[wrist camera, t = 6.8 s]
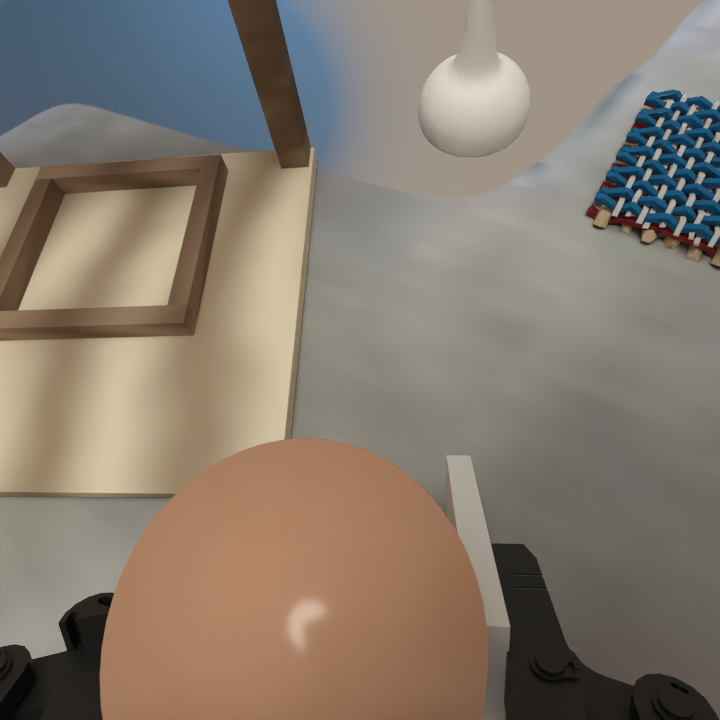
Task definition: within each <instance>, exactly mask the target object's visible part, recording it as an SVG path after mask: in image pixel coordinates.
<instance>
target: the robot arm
mask: <svg viewBox="0 0 720 720" xmlns="http://www.w3.org/2000/svg"><path fill="white" fill-rule="evenodd" d="M446 516H447V518H448V519H449V521H450V522H451V523H452V525H453V526H454V528H455V530H456V532H457V534H458V536H459V537H460V539H461V541H462V543H463V545H464V547H465V549H466V551H467V553H468V556H469V558H470V561H471V564H472V566H473V569H474V571H475V574H476V577H477V581H478V584H479V588H480V592H481V596H482V600H483V604H484V611H485V618H486V626H487V633H488V674H487V685H486V695H485V701H484V706H483V710H482V715H481V719H480V720H505V711H506V720H719V718H718V716H717V714H716V713H715V711H714V710H713V708H712V707H711V706H710V704H709V703H708V702H707V700H706V699H705V698H704V697H703V696H702V695H701V694H699V693H698V692H697V691H696V690H695V689H694V688H692V687H691V686H690V685H688V684H686V683H684V682H682V681H680V680H678V679H676V678H674V677H670V676H666V675H662V674H647V675H644V676H643V677H641V678H640V679H638V680H636V683H635V685H634V686H632V685H629V684H626V683H623V682H620V681H617V680H614V679H611V678H608V677H605V676H603V675H601V674H598V673H596V672H594V671H593V670H591V669H590V668H588V667H586V666H585V665H584V664H583V663H581V661H580V660H579V659H578V657H577V656H576V654H575V653H574V652H572V651H571V650H570V649H569V647H568V645H567V643H566V641H565V639H564V636H563V633H562V630H561V627H560V624H559V622H558V619H557V616H556V613H555V610H554V607H553V604H552V602H551V599H550V596H549V593H548V591H547V587H546V585H545V582H544V579H543V577H542V573H541V570H540V567H539V565H538V562H537V559H536V557H535V556H534V555H533V554H532V553H531V552H530V551H529V550H528V549H527V548H526V547H525V545H524V544H491V542H490V538H489V534H488V530H487V525H486V521H485V517H484V513H483V508H482V504H481V500H480V496H479V491H478V487H477V483H476V479H475V474H474V470H473V466H472V462H471V457H470V455H446ZM113 596H114V593H100V594H97V595H94V596H90V597H88V598H86V599H84V600H82V601H81V602H79V603H77V604H75V605H74V606H73V607H72V608H71V609H70V610H68V611H67V612H66V613H65V614H64V616H63V617H62V619H61V620H60V621H59V623H58V624H59V627H60V630H61V633H62V636H63V639H64V642H65V645H66V648H67V651H65V652H61V653H57V654H53V655H49V656H45V657H40V658H36V659H32V658H31V655H30V652H29V651H28V650H27V649H26V648H25V646H20V645H9V646H3V647H0V720H103V717H102V711H101V698H100V665H101V650H102V643H103V637H104V632H105V626H106V620H107V617H108V613H109V610H110V606H111V603H112V599H113Z"/></svg>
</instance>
